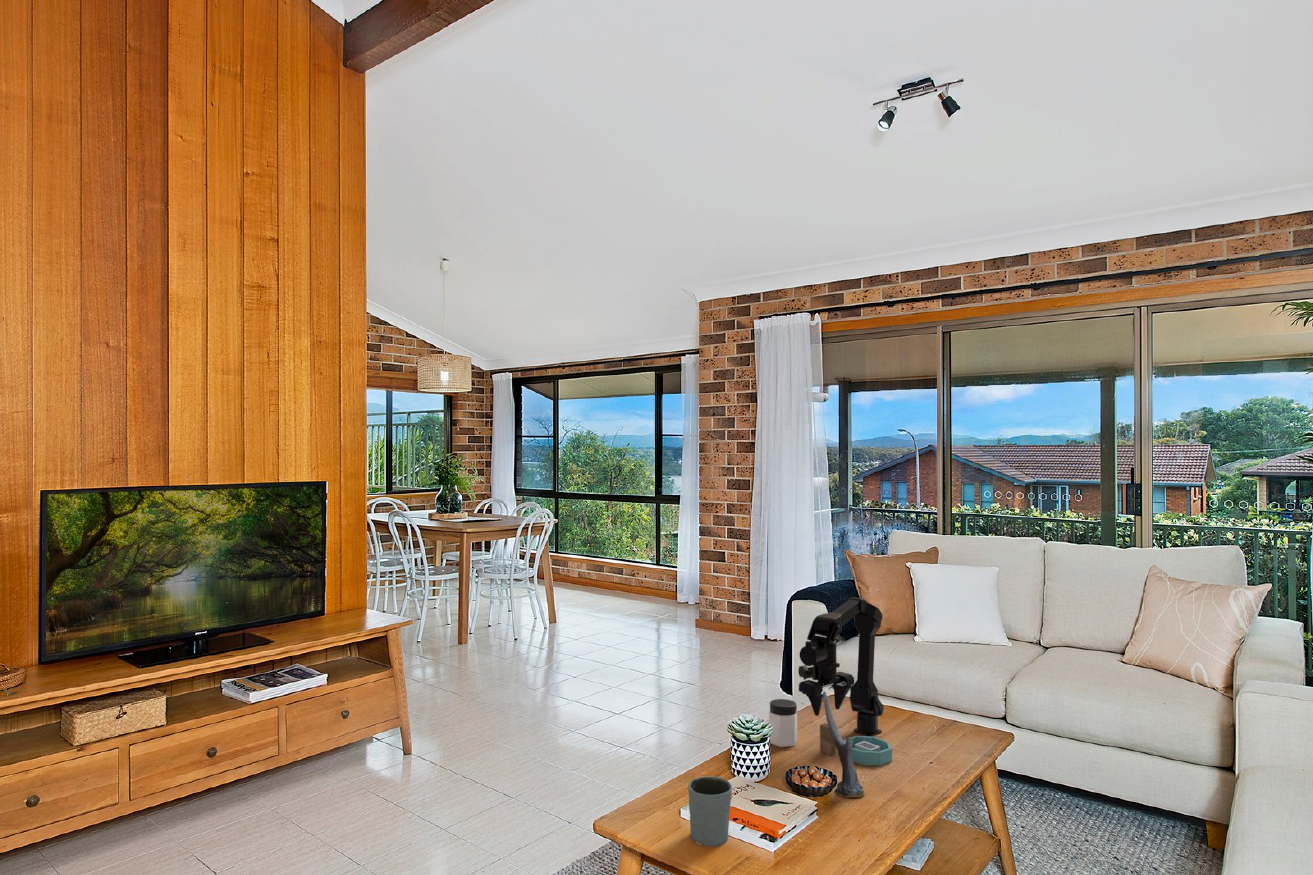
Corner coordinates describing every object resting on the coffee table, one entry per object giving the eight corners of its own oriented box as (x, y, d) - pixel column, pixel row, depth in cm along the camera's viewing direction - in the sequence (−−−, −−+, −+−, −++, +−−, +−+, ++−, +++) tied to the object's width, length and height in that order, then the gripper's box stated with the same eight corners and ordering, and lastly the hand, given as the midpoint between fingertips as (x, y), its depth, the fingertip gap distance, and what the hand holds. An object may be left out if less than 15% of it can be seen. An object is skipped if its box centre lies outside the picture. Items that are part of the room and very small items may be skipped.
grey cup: (705, 823, 187) (705, 772, 187) (741, 836, 181) (740, 783, 181) (679, 839, 179) (679, 786, 180) (715, 853, 173) (714, 798, 173)
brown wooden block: (825, 750, 234) (825, 723, 234) (835, 753, 231) (834, 726, 232) (820, 752, 233) (820, 724, 233) (829, 755, 230) (829, 728, 230)
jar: (803, 743, 240) (803, 703, 240) (785, 749, 235) (785, 709, 235) (781, 735, 247) (781, 696, 247) (763, 741, 242) (763, 702, 242)
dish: (863, 745, 238) (863, 733, 238) (900, 758, 228) (899, 745, 228) (835, 755, 230) (835, 742, 230) (871, 768, 220) (871, 755, 220)
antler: (869, 793, 204) (868, 696, 205) (854, 802, 198) (853, 703, 199) (829, 780, 212) (829, 687, 213) (814, 789, 206) (814, 693, 207)
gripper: (826, 649, 245) (826, 699, 244) (784, 658, 234) (785, 711, 233) (855, 656, 236) (855, 708, 236) (813, 666, 225) (813, 721, 224)
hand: (827, 712), depth 232 cm, fingers open, 9 cm apart
